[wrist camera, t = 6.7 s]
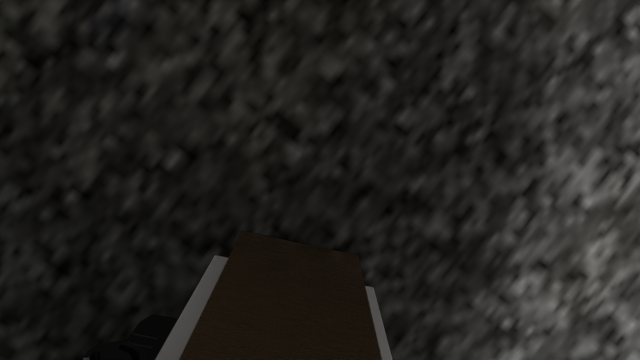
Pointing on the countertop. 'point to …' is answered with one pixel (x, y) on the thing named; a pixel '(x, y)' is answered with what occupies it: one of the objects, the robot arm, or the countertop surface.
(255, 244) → the block
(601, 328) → the countertop surface
